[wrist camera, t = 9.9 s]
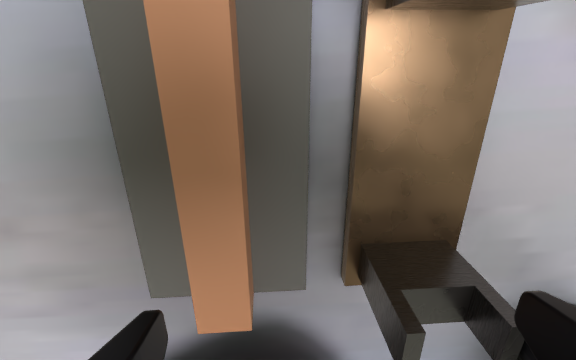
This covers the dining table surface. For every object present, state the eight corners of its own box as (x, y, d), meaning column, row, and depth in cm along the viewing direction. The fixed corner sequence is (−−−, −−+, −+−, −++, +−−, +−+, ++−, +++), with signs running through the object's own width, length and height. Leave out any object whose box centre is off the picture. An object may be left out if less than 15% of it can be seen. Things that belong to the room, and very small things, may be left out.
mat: (304, 283, 21) (305, 289, 20) (154, 291, 20) (151, 298, 19) (311, -86, 13) (313, -92, 12) (69, -92, 12) (60, -99, 12)
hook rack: (440, 270, 21) (525, 375, 14) (341, 275, 21) (379, 386, 14) (518, -67, 14) (772, -189, 7) (367, -71, 13) (478, -204, 6)
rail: (253, 292, 20) (252, 330, 17) (207, 294, 20) (197, 333, 17) (229, -96, 12) (218, -139, 9) (152, -98, 12) (119, -143, 9)
